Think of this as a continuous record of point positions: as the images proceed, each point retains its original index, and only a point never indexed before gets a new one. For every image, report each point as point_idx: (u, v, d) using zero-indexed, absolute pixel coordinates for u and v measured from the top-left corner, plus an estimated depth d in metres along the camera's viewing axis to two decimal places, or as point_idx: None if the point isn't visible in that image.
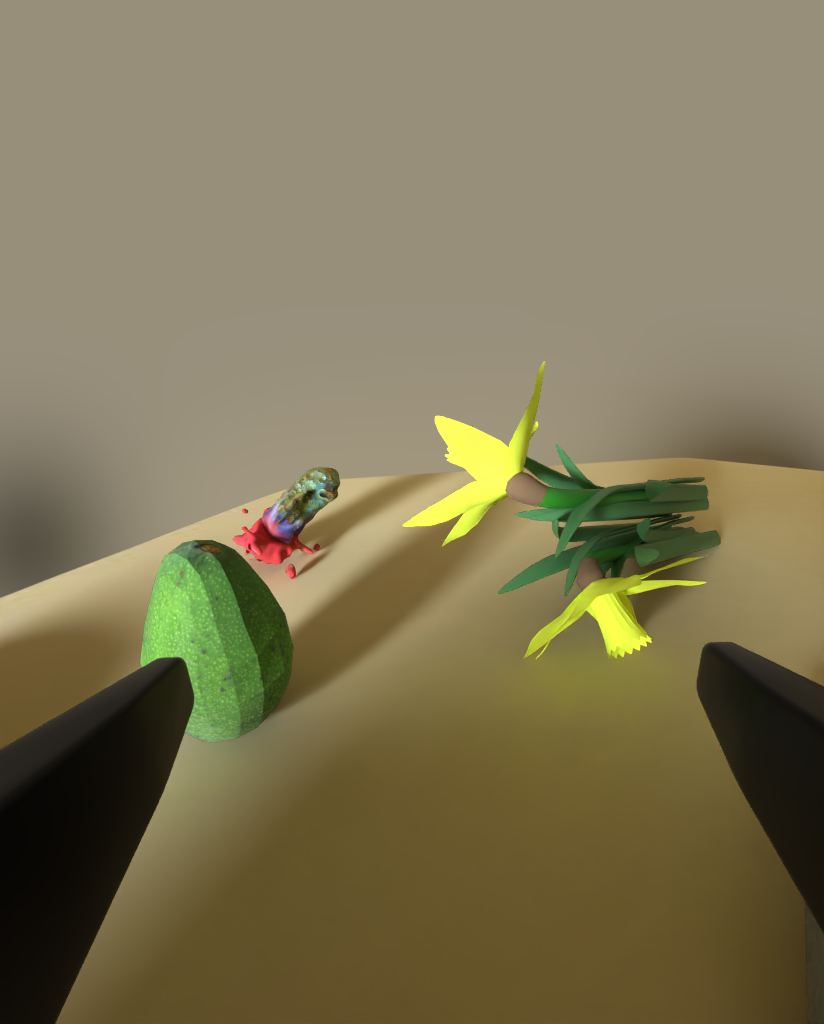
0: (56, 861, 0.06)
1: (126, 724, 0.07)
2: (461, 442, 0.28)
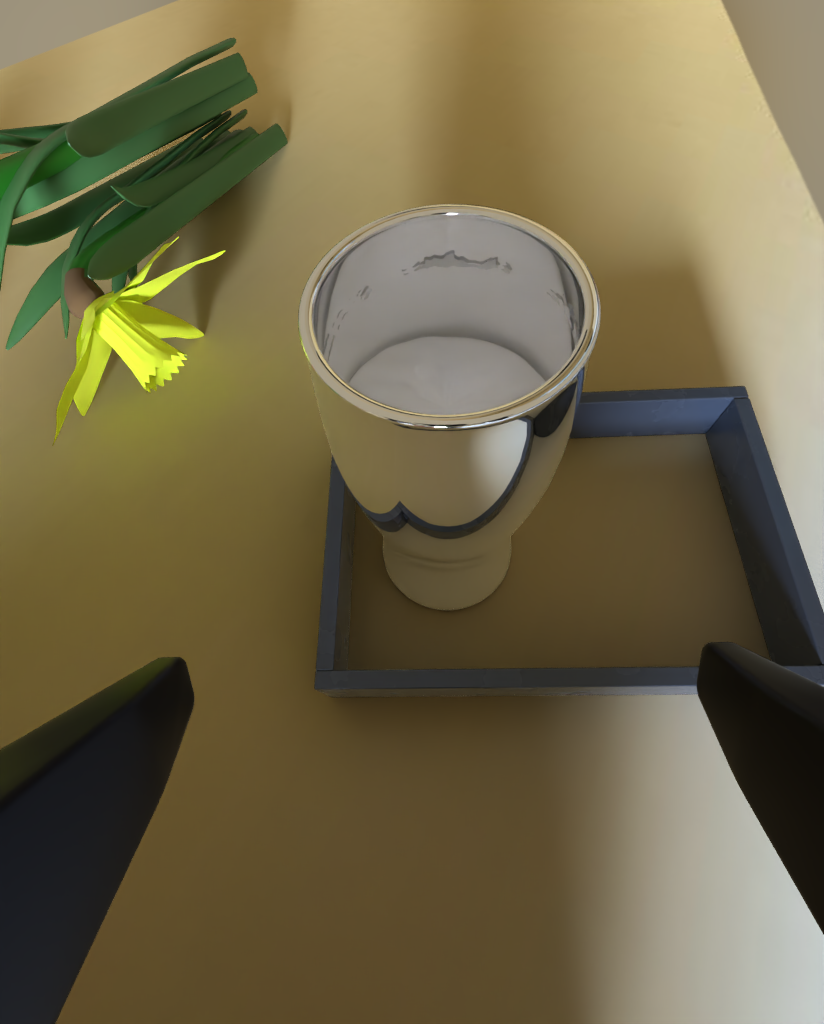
0: (56, 861, 0.06)
1: (126, 724, 0.07)
2: None
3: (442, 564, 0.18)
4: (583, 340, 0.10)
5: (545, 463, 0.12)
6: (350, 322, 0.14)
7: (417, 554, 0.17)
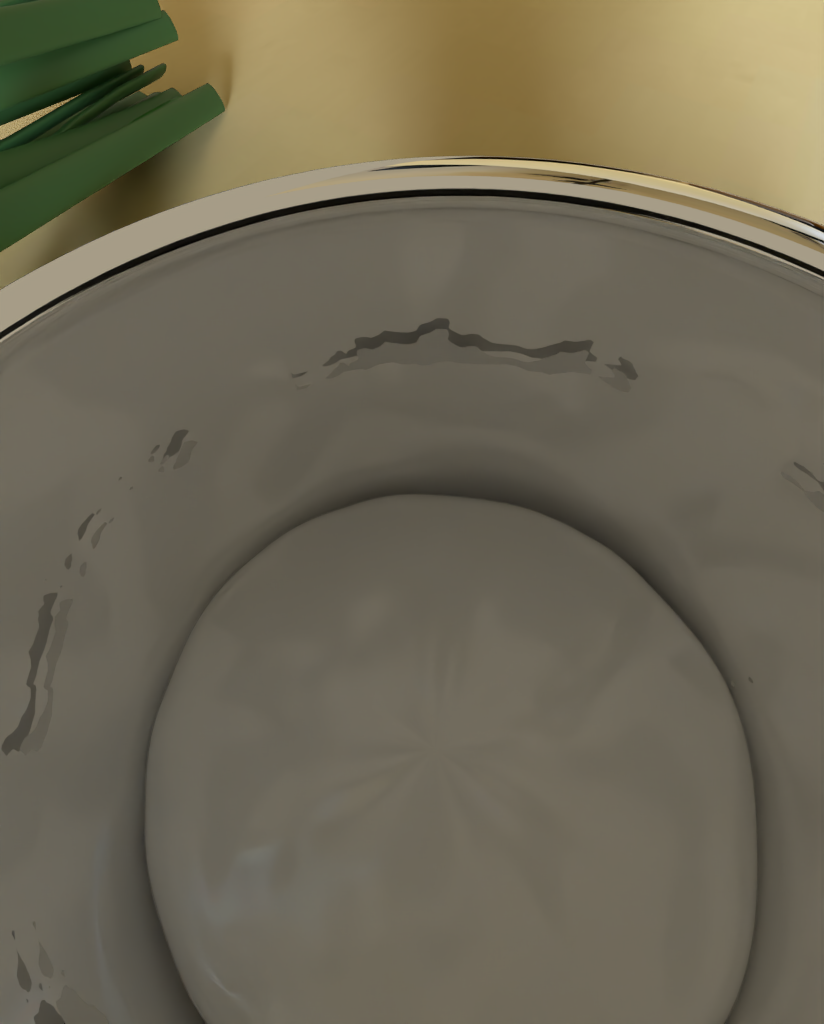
0: None
1: None
2: None
3: None
4: None
5: None
6: (147, 527, 0.05)
7: None
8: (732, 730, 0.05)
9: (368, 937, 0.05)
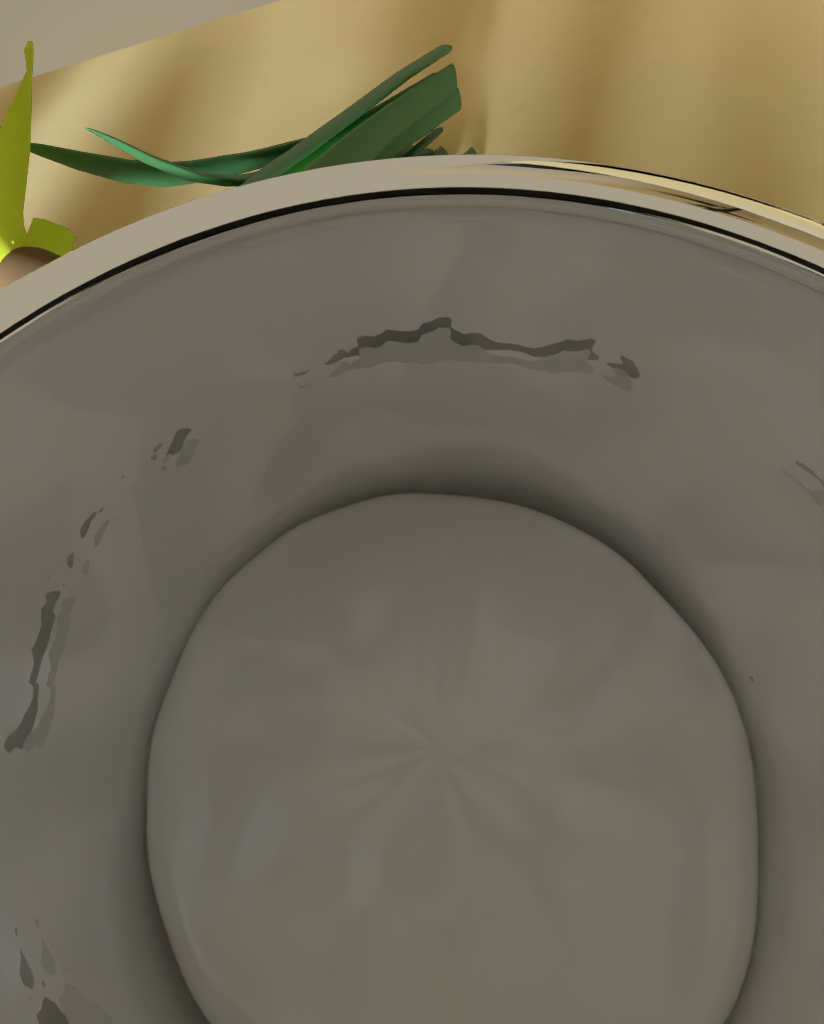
0: None
1: None
2: None
3: None
4: None
5: None
6: (150, 526, 0.05)
7: None
8: (733, 728, 0.05)
9: (370, 935, 0.05)
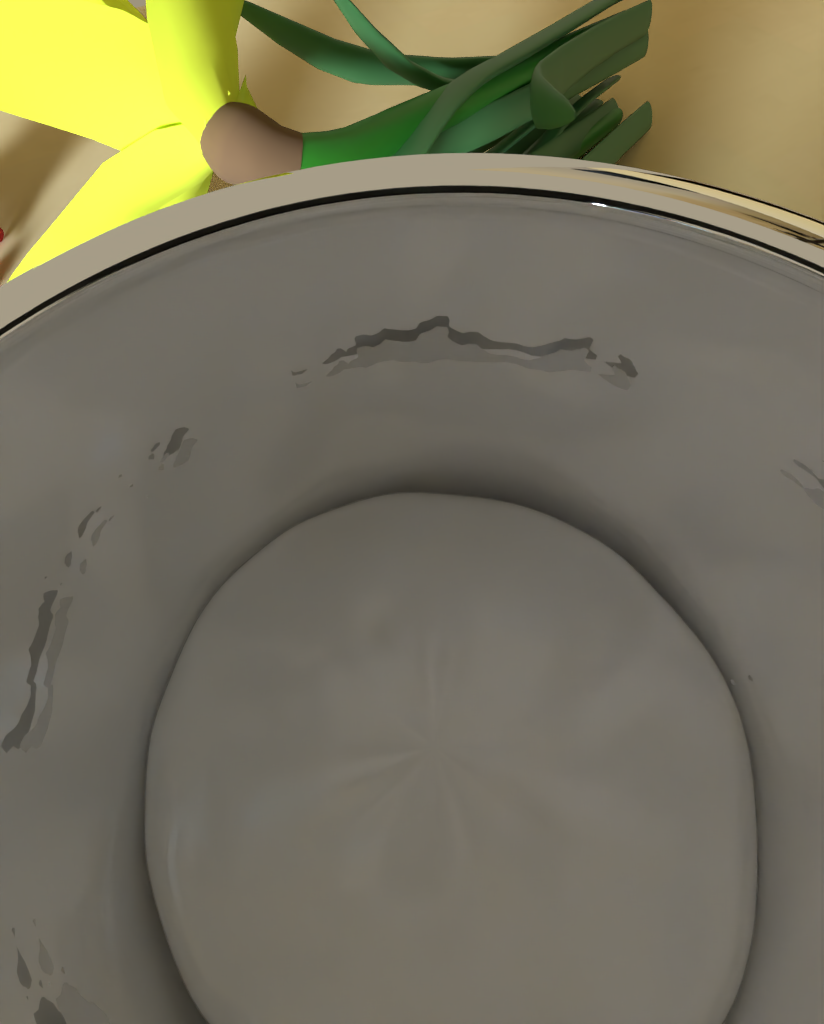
0: None
1: None
2: None
3: None
4: None
5: None
6: (147, 526, 0.05)
7: None
8: (732, 729, 0.05)
9: (368, 935, 0.05)
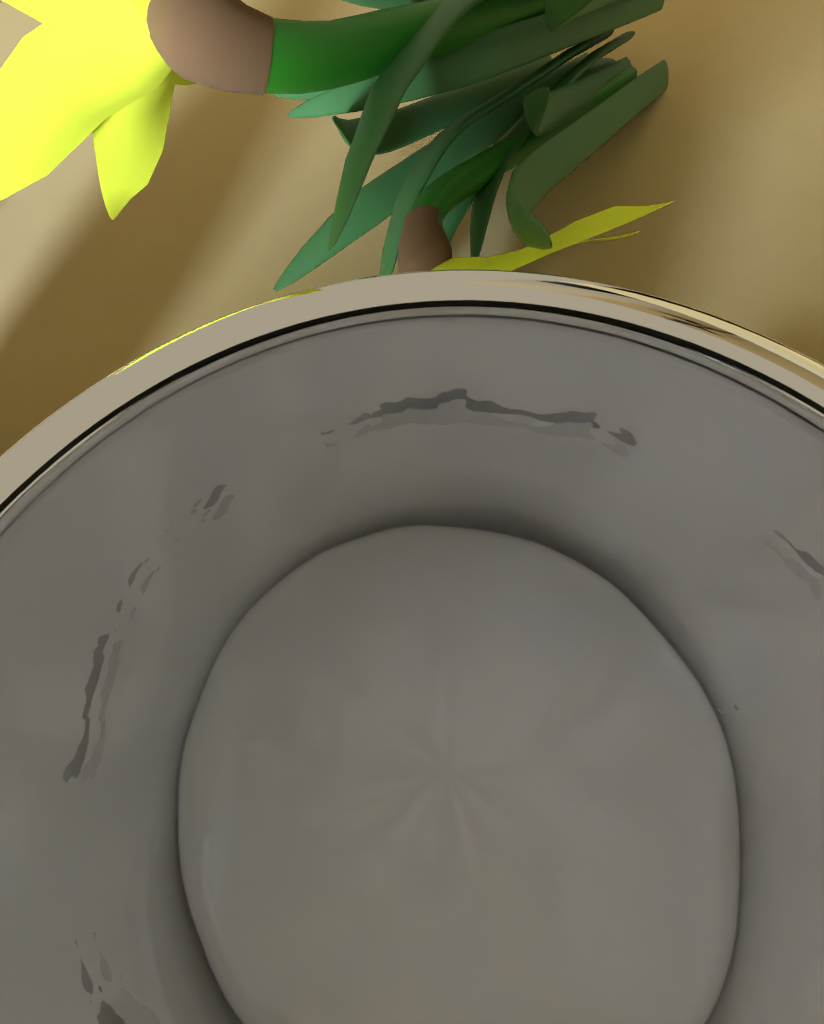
0: None
1: None
2: None
3: None
4: None
5: None
6: (186, 569, 0.05)
7: None
8: (719, 754, 0.06)
9: (387, 942, 0.05)
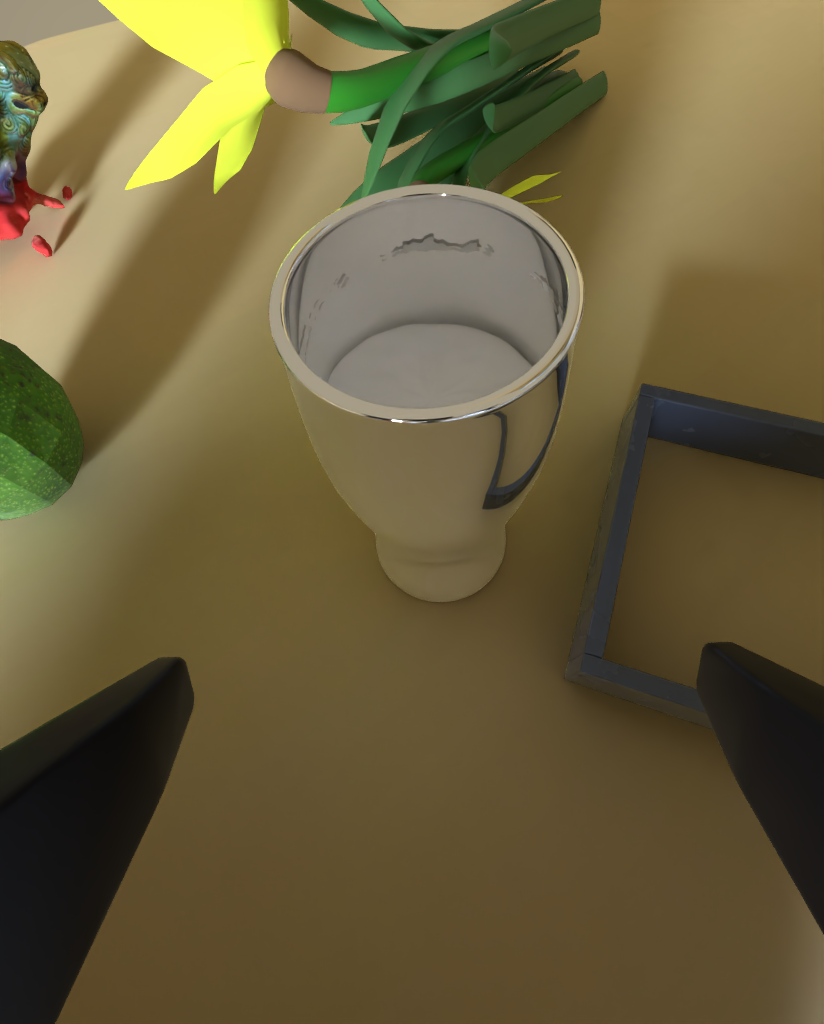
0: (56, 861, 0.06)
1: (126, 724, 0.07)
2: (146, 6, 0.15)
3: (433, 558, 0.18)
4: (566, 325, 0.10)
5: (532, 454, 0.12)
6: (327, 313, 0.14)
7: (407, 549, 0.17)
8: None
9: None
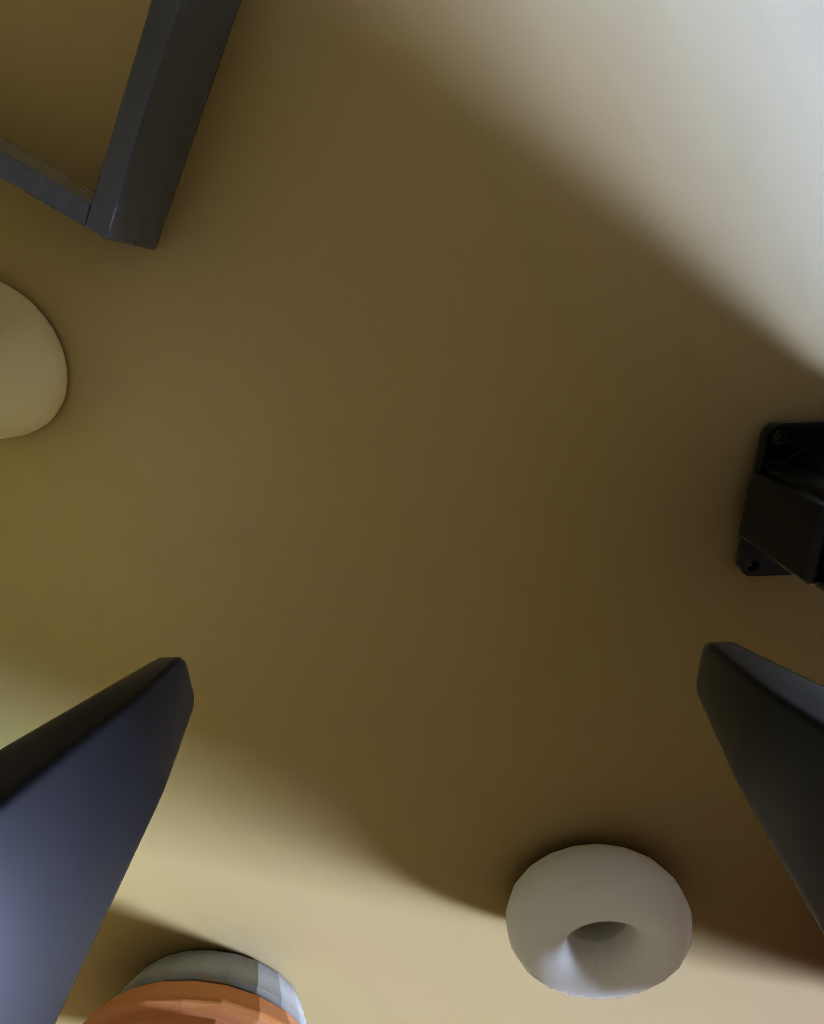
0: (56, 861, 0.06)
1: (126, 724, 0.07)
2: None
3: None
4: None
5: None
6: None
7: None
8: None
9: None
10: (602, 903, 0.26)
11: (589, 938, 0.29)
